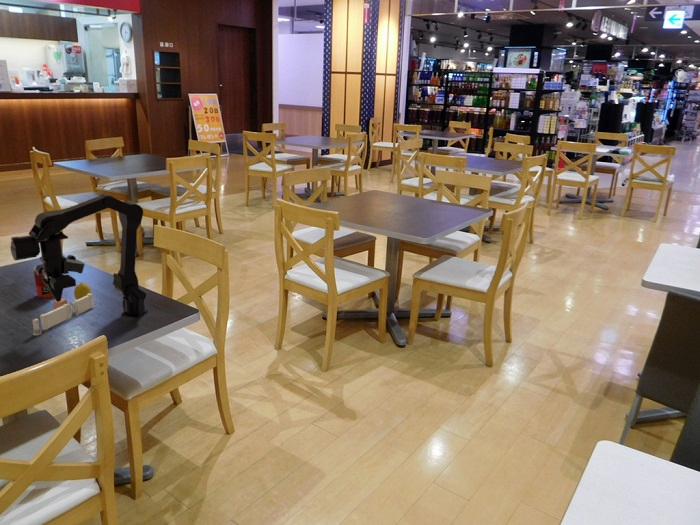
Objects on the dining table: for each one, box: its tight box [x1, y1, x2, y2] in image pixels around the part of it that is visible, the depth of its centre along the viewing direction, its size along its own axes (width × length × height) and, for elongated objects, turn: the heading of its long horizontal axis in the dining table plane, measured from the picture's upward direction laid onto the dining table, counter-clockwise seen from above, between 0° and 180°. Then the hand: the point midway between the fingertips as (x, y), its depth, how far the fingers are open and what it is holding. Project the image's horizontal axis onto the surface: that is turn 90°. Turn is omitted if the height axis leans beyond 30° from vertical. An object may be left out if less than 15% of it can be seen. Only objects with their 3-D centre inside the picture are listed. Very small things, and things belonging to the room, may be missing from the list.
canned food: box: [33, 265, 55, 300], centre depth 201 cm, size 8×8×11 cm
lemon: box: [73, 282, 92, 301], centre depth 196 cm, size 6×6×8 cm
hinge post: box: [69, 301, 77, 318], centre depth 186 cm, size 2×2×5 cm
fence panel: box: [73, 293, 95, 315], centre depth 190 cm, size 2×7×5 cm, turn 162°
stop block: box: [52, 297, 68, 310], centre depth 192 cm, size 3×3×3 cm
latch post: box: [32, 318, 43, 337], centre depth 172 cm, size 2×2×5 cm
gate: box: [39, 303, 72, 331], centre depth 179 cm, size 10×2×5 cm, turn 162°
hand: (58, 301), depth 172 cm, fingers closed
